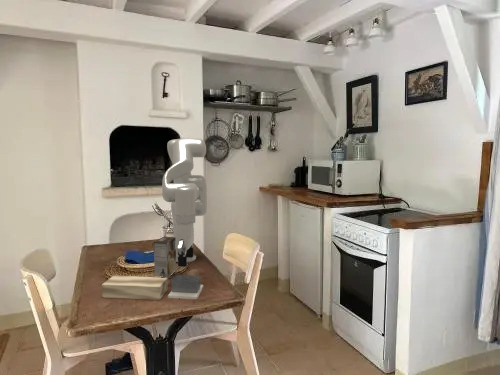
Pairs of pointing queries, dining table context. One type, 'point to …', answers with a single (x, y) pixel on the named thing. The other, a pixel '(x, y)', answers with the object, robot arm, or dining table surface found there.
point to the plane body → (135, 287)
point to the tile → (185, 294)
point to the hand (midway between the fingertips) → (185, 261)
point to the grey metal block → (186, 283)
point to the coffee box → (165, 256)
